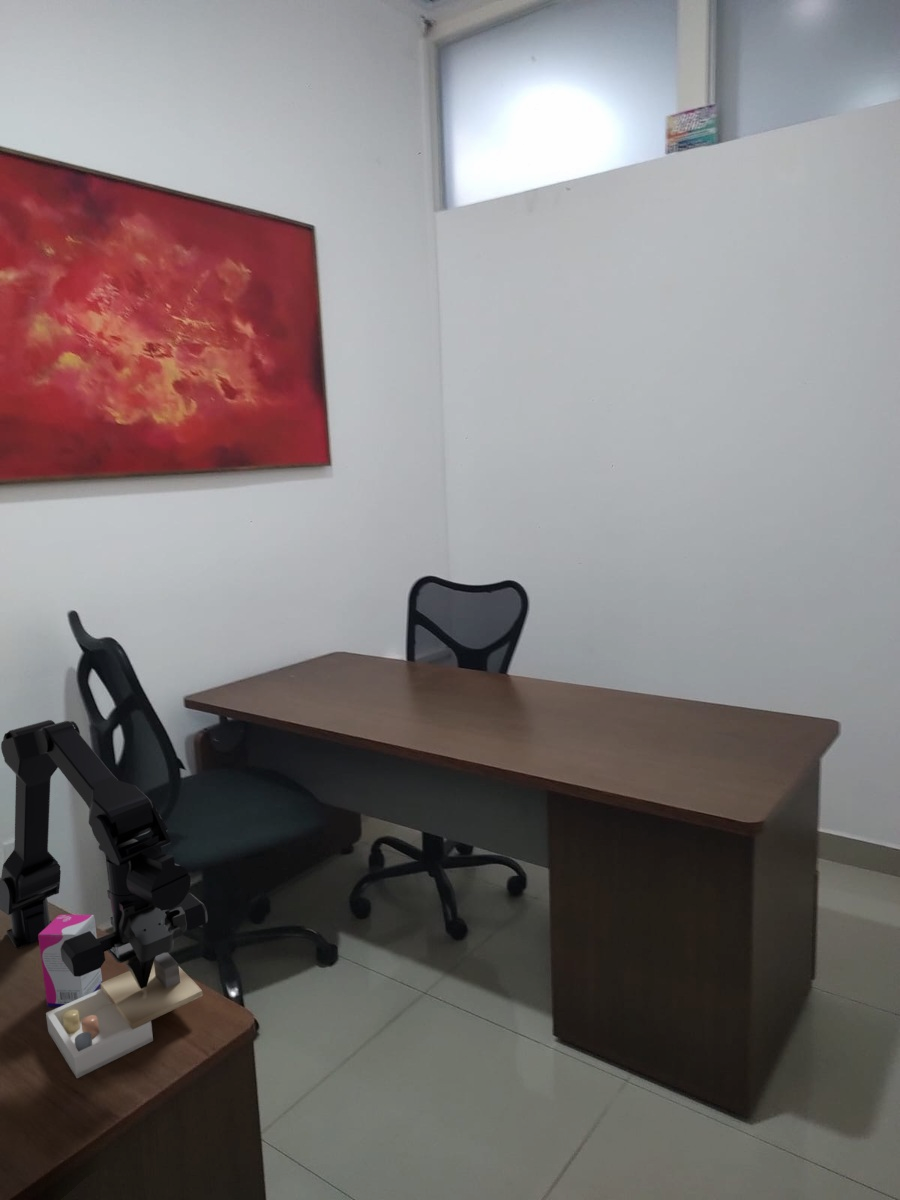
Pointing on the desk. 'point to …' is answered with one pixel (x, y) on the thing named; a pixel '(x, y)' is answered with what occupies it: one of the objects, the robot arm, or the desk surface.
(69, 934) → the supplement box
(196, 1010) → the desk surface
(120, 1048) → the white storage tray
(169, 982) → the lid
